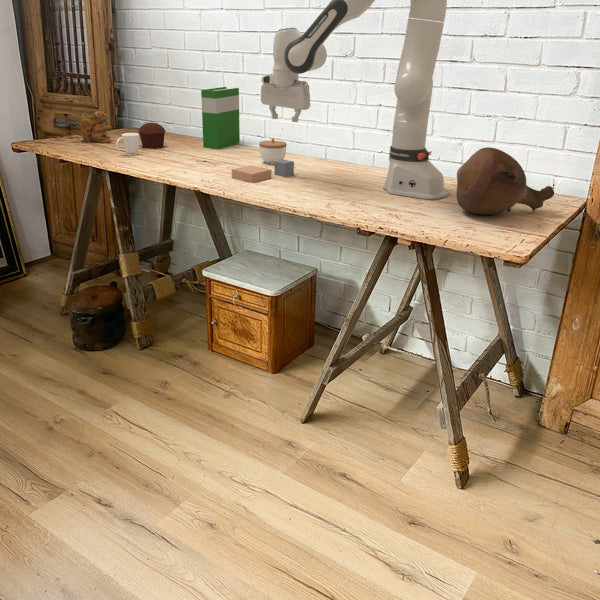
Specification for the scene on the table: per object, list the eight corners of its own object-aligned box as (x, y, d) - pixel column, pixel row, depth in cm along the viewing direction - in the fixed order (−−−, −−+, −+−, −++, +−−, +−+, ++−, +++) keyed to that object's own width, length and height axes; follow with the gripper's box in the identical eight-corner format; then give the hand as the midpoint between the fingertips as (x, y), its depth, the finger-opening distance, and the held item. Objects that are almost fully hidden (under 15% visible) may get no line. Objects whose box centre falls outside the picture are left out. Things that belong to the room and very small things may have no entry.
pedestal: (271, 177, 223) (271, 169, 221) (252, 182, 216) (252, 174, 214) (251, 173, 228) (251, 165, 227) (231, 177, 221) (231, 169, 220)
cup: (144, 154, 254) (142, 134, 251) (122, 157, 248) (120, 137, 245) (135, 152, 259) (133, 132, 256) (113, 154, 253) (111, 134, 249)
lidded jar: (261, 165, 241) (261, 141, 237) (257, 160, 250) (257, 136, 246) (288, 165, 243) (289, 140, 239) (283, 159, 252) (283, 136, 249)
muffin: (134, 148, 266) (132, 124, 262) (146, 143, 276) (144, 120, 272) (160, 150, 264) (158, 125, 260) (171, 145, 274) (169, 122, 270)
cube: (293, 175, 228) (294, 161, 226) (284, 177, 225) (285, 163, 222) (283, 172, 231) (283, 159, 229) (274, 175, 227) (274, 161, 225)
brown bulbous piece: (451, 221, 180) (547, 238, 184) (476, 158, 168) (577, 178, 173) (437, 189, 196) (525, 206, 200) (459, 130, 185) (551, 149, 189)
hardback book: (226, 141, 286) (224, 86, 276) (239, 143, 283) (238, 87, 273) (203, 147, 272) (201, 89, 262) (217, 149, 268) (215, 91, 259)
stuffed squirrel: (112, 143, 275) (109, 112, 270) (79, 143, 272) (75, 112, 267) (113, 139, 284) (111, 109, 279) (81, 139, 281) (78, 109, 276)
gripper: (315, 81, 210) (313, 123, 216) (269, 76, 222) (269, 116, 228) (303, 82, 206) (302, 124, 212) (257, 77, 217) (257, 117, 223)
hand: (284, 120), depth 220 cm, fingers open, 8 cm apart
